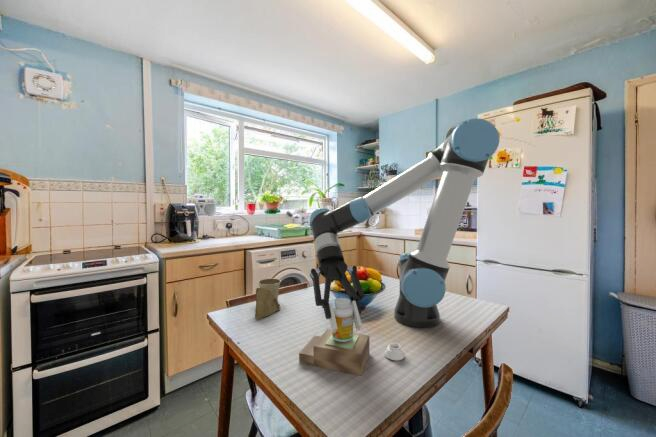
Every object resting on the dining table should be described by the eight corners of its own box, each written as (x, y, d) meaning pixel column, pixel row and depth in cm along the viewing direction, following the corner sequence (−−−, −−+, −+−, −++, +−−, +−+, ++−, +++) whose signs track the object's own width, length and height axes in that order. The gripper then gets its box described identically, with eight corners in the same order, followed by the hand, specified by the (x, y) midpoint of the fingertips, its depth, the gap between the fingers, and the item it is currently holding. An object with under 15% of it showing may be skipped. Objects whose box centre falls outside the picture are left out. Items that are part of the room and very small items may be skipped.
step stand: (369, 353, 73) (369, 334, 73) (360, 375, 64) (360, 353, 64) (314, 343, 79) (314, 325, 79) (299, 362, 70) (298, 342, 69)
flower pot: (286, 300, 115) (285, 280, 115) (270, 307, 107) (269, 285, 107) (269, 296, 120) (269, 277, 120) (253, 303, 112) (253, 282, 112)
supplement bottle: (329, 334, 72) (328, 298, 72) (347, 331, 74) (347, 295, 74) (336, 344, 67) (336, 305, 67) (356, 340, 69) (356, 302, 69)
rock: (278, 299, 109) (253, 299, 106) (283, 286, 105) (256, 285, 101) (280, 324, 101) (253, 325, 98) (285, 311, 97) (256, 311, 93)
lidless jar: (382, 359, 71) (402, 363, 69) (382, 348, 71) (402, 352, 69) (387, 350, 76) (405, 354, 74) (387, 339, 76) (405, 343, 73)
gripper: (355, 257, 87) (377, 330, 72) (297, 260, 82) (307, 340, 67) (361, 242, 82) (386, 318, 67) (299, 245, 77) (312, 328, 62)
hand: (347, 329), depth 67 cm, fingers open, 5 cm apart
